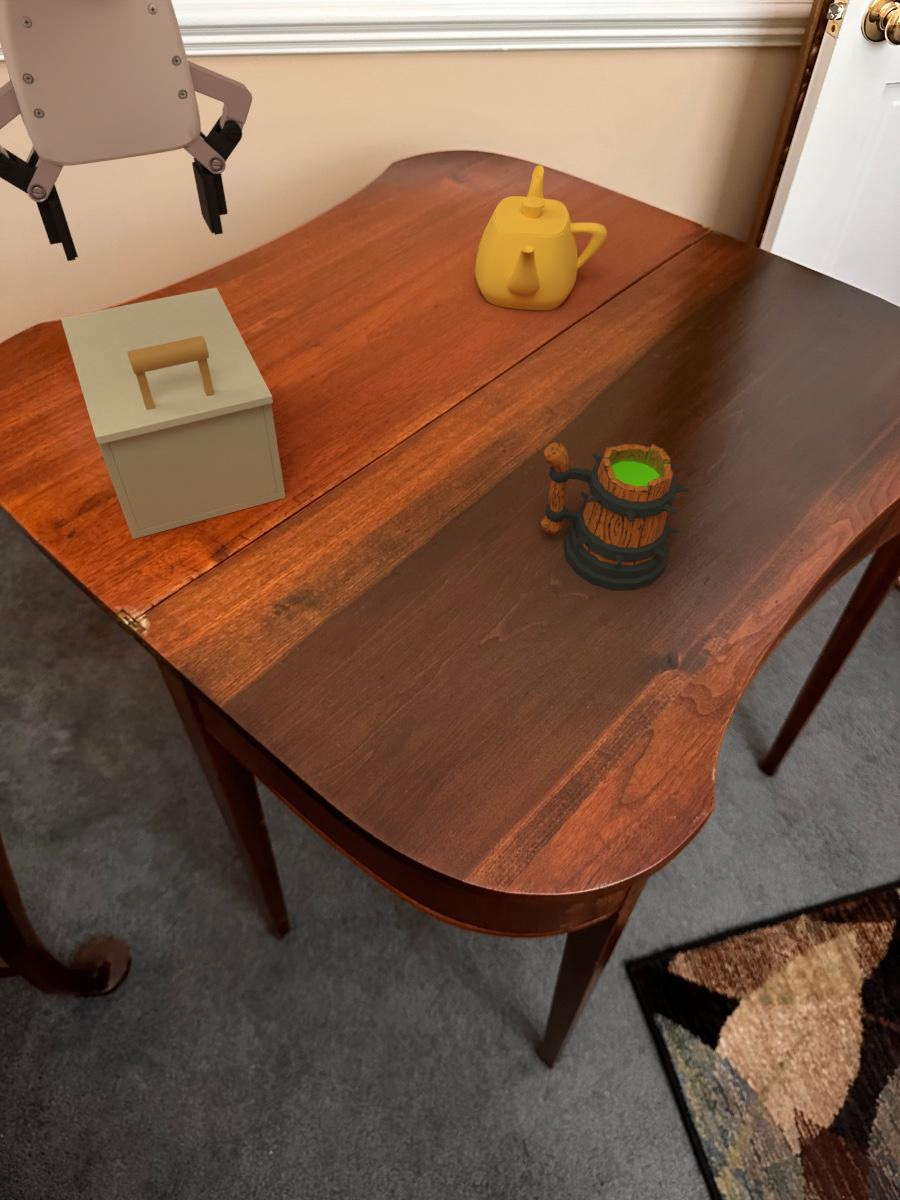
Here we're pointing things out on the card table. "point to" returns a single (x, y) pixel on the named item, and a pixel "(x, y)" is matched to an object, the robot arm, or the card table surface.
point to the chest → (196, 470)
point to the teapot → (532, 251)
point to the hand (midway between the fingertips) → (142, 237)
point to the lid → (162, 364)
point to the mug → (615, 514)
